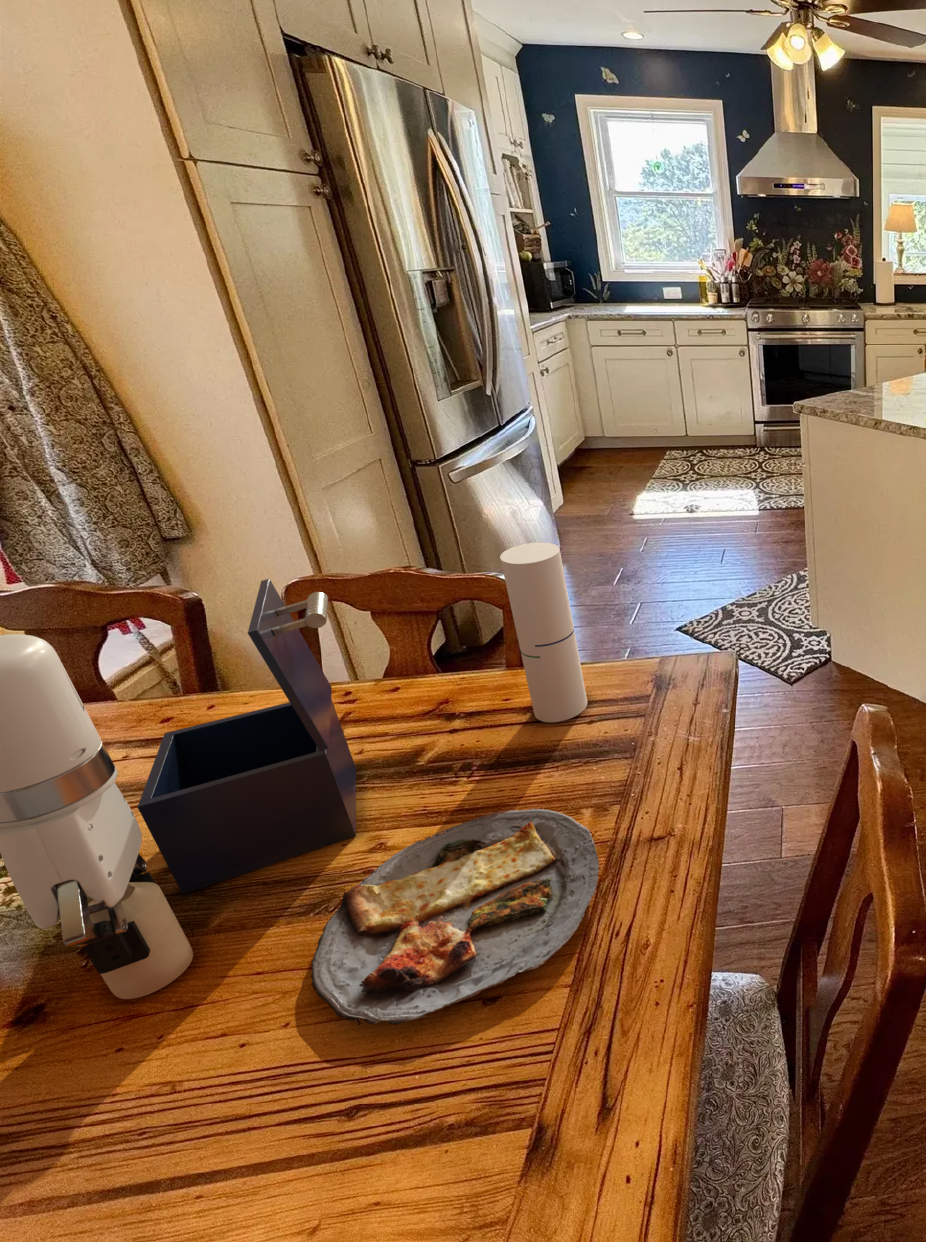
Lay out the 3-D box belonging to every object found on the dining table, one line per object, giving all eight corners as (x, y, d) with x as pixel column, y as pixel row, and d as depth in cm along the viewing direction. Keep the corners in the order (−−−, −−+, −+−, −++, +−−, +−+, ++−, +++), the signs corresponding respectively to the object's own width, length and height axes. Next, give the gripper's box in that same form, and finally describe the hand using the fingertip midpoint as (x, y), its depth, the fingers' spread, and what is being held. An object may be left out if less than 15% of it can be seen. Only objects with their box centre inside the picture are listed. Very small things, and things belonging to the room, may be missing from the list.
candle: (130, 957, 70) (86, 880, 66) (204, 938, 72) (165, 863, 68) (99, 1009, 65) (49, 930, 61) (179, 987, 67) (135, 909, 63)
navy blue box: (182, 895, 77) (136, 807, 72) (202, 814, 87) (164, 732, 82) (356, 836, 84) (325, 753, 80) (356, 768, 95) (329, 691, 90)
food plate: (303, 1084, 60) (290, 1057, 59) (330, 885, 78) (320, 860, 77) (621, 946, 73) (616, 920, 71) (581, 801, 91) (576, 779, 89)
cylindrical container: (584, 718, 106) (555, 561, 96) (530, 725, 104) (494, 566, 94) (589, 690, 112) (563, 540, 102) (538, 697, 110) (506, 544, 100)
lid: (247, 633, 72) (313, 613, 75) (260, 580, 82) (318, 564, 85) (320, 751, 79) (378, 729, 82) (324, 690, 90) (375, 672, 92)
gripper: (13, 740, 64) (100, 891, 71) (-72, 871, 51) (44, 1039, 58) (133, 712, 68) (204, 857, 75) (81, 828, 55) (172, 989, 62)
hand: (133, 935), depth 67 cm, fingers closed on candle, 5 cm apart
